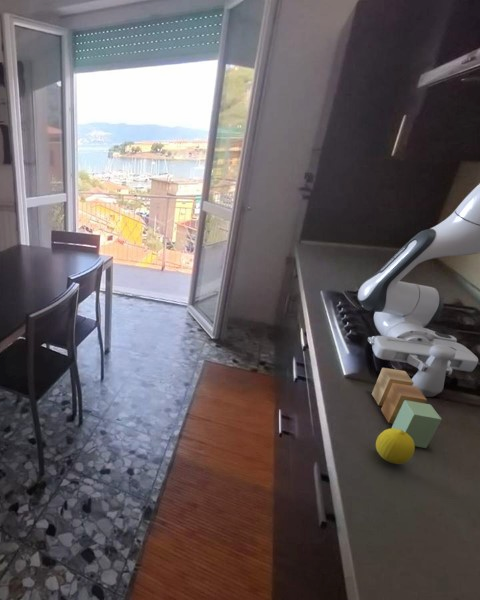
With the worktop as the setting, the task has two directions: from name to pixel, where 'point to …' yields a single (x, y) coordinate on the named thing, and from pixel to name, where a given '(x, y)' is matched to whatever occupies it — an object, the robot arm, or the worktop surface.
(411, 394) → the block
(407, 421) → the block
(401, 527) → the worktop surface
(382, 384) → the block
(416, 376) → the salt shaker
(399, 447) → the lemon
